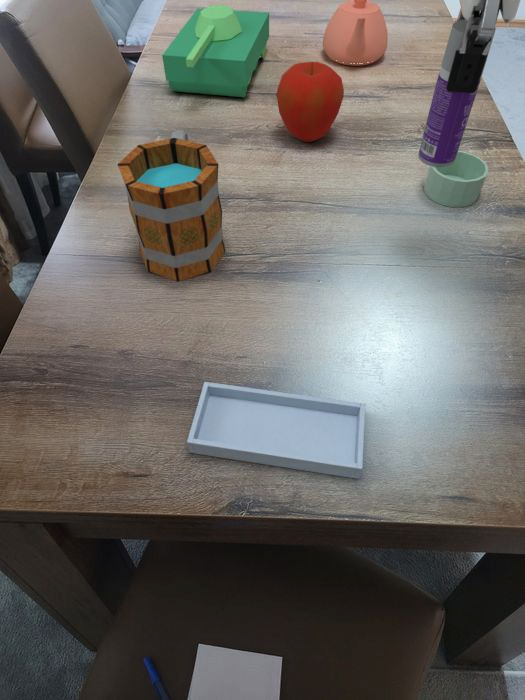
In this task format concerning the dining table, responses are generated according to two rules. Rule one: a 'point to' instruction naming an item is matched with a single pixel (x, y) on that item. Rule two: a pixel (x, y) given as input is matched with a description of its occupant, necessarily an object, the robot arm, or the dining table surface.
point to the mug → (175, 206)
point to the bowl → (456, 181)
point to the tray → (279, 429)
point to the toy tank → (217, 51)
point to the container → (447, 109)
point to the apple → (309, 99)
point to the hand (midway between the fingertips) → (459, 78)
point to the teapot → (356, 33)
